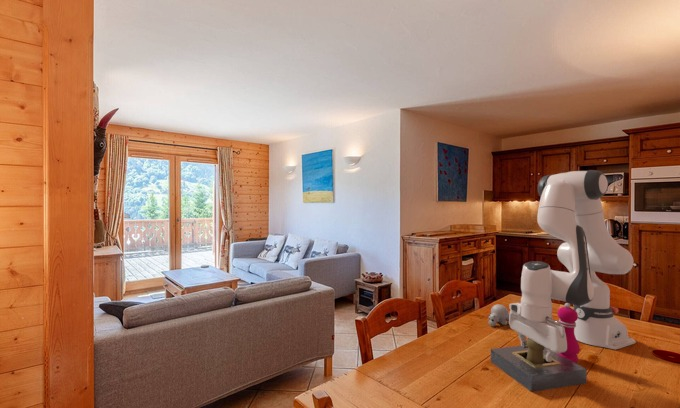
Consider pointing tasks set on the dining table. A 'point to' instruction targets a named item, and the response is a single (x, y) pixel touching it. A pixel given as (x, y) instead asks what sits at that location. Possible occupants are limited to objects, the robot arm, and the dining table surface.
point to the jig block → (538, 369)
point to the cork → (535, 352)
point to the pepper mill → (569, 331)
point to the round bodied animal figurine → (498, 315)
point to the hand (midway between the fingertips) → (535, 353)
